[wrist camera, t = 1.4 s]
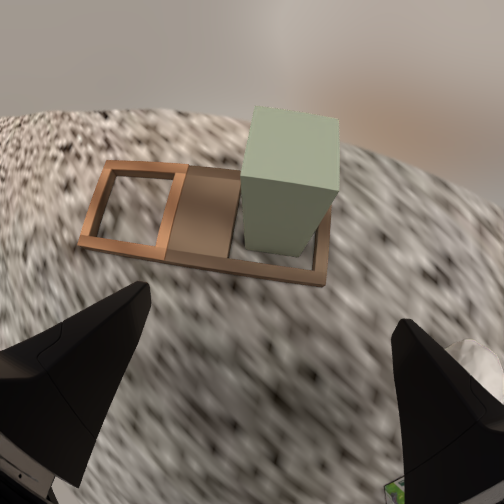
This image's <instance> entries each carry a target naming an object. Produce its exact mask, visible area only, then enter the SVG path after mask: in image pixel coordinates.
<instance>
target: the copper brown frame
mask: <svg viewBox="0 0 504 504" xmlns="http://www.w3.org/2000/svg"><path fill="white" fill-rule="evenodd" d="M240 174H241V171H239V170H230V169H221V168H211V167H201V166H189V164H178V163H164V162H146V161H119V160H106V163H105V165H104V168H103V170H102V173H101V175H100V178H99V180H98V183H97V186H96V188H95V191H94V194H93V197H92V200H91V203H90V205H89V208H88V211H87V215H86V218H85V221H84V224H83V227H82V231H81V234H80V238H79V241H78V245H79V246H80V247H82V248H84V249H87V250H92V251H98V252H103V253H108V254H114V255H119V256H125V257H130V258H136V259H142V260H147V261H153V262H159V263H165V264H171V265H177V266H183V267H189V268H195V269H201V270H207V271H213V272H220V273H226V274H233V275H239V276H246V277H252V278H259V279H266V280H273V281H280V282H287V283H294V284H301V285H308V286H316V287H323V286H325V285H326V276H327V265H328V253H329V239H330V224H331V206H330V207H329V209H328V211H327V212H326V214H325V216H324V217H323V219H322V220H321V222H320V224H319V225H318V227H317V229H316V234H315V245H314V256H313V266H312V271H311V270H304V269H297V268H290V267H283V266H277V265H270V264H263V263H256V262H249V261H243V260H236V259H229V253H230V248H231V242H232V237H233V231H234V226H235V220H236V215H237V210H238V204H239V199H240V194H241V179H240ZM116 176H130V177H145V178H159V179H171V180H173V183H172V186H171V190H170V193H169V196H168V200H167V204H166V207H165V211H164V215H163V218H162V222H161V226H160V230H159V234H158V238H157V242H156V246H148V245H142V244H136V243H129V242H123V241H117V240H111V239H104V238H98V237H97V233H98V230H99V226H100V223H101V220H102V216H103V213H104V210H105V207H106V204H107V201H108V198H109V195H110V192H111V189H112V187H113V184H114V181H115V178H116Z"/></svg>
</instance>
